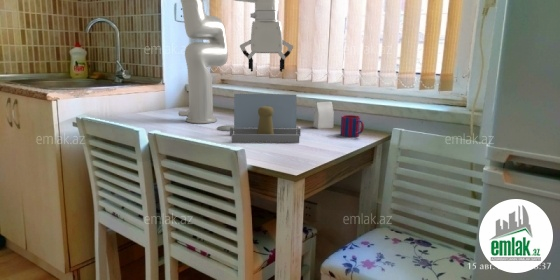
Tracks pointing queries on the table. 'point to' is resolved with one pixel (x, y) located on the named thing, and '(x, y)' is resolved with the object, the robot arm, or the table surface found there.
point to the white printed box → (323, 115)
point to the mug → (351, 126)
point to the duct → (265, 135)
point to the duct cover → (250, 104)
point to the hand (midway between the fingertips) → (266, 71)
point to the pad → (224, 128)
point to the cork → (265, 120)
